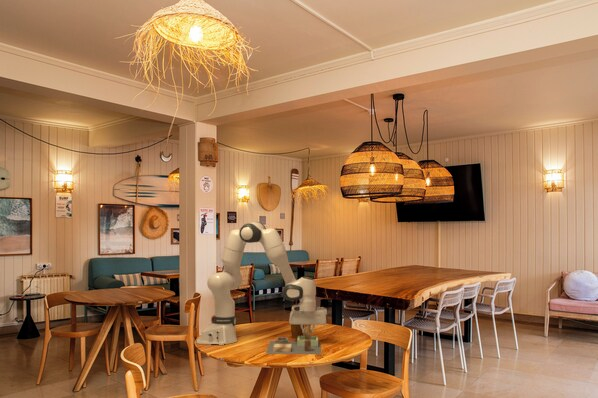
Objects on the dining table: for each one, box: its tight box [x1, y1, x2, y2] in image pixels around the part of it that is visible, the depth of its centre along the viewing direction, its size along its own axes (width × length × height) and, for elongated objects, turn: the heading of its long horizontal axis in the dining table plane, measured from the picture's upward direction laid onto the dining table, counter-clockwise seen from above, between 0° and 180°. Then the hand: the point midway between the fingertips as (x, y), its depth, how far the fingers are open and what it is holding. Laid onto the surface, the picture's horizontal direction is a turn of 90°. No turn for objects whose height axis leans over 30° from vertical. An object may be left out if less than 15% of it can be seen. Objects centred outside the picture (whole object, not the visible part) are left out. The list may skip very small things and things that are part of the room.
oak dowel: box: [304, 325, 312, 340], centre depth 250 cm, size 3×3×9 cm
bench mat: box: [265, 340, 322, 355], centre depth 244 cm, size 28×26×1 cm
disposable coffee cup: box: [290, 324, 305, 340], centre depth 267 cm, size 10×10×12 cm
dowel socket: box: [275, 336, 289, 344], centre depth 250 cm, size 6×6×3 cm
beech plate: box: [273, 344, 292, 352], centre depth 238 cm, size 9×7×2 cm
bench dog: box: [305, 340, 311, 351], centre depth 238 cm, size 3×3×5 cm
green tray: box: [296, 335, 319, 347], centre depth 250 cm, size 11×10×4 cm
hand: (307, 332), depth 250 cm, fingers closed on oak dowel, 3 cm apart
